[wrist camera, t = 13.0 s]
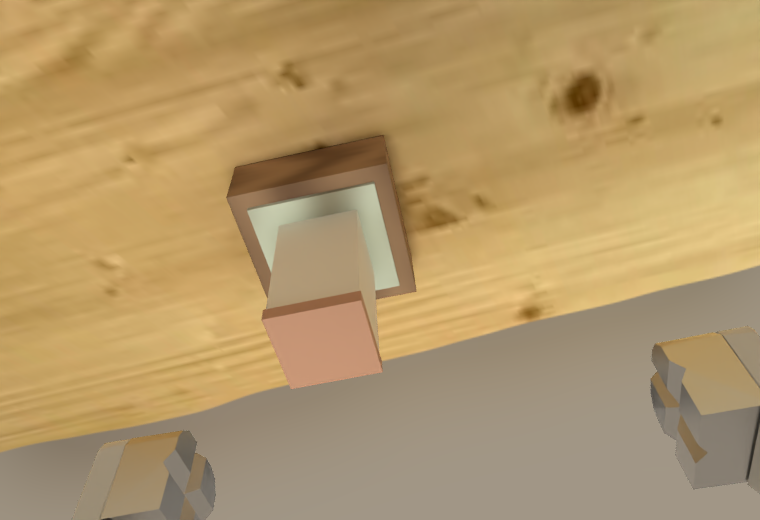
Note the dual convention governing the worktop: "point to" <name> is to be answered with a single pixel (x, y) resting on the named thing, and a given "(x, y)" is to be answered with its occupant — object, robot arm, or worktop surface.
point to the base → (325, 206)
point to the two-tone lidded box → (323, 301)
